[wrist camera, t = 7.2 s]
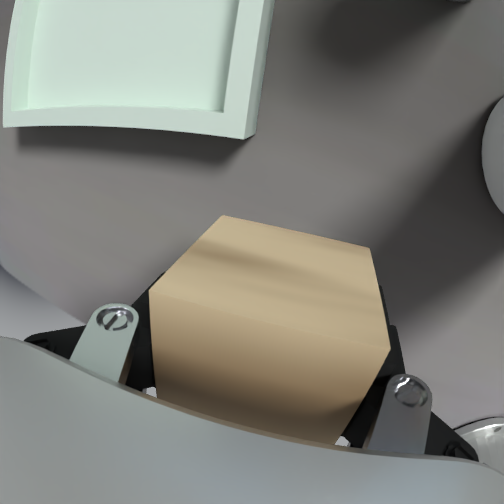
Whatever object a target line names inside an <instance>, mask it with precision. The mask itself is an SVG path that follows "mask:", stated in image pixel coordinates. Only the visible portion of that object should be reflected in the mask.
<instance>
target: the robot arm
mask: <svg viewBox="0 0 504 504" xmlns="http://www.w3.org/2000/svg"><path fill="white" fill-rule="evenodd" d="M165 273H166V272H164V273H162V274H161V275H160V276H159V277H158V278H157V279H156V280H155V281H154V282H153V283H152V285H151V286H150V287H149V288H148V289H147V290H146V291H145V292H144V293H143V294H142V295H141V296H140V297H139V298H138V299H137V300H136V301H135V302H134V303H133V304H132V306H131V307H130V306H128V305H125V304H117V303H113V304H107V305H104V306H102V307H100V308H98V309H97V310H96V311H95V312H94V313H93V314H92V316H91V318H90V320H89V322H88V324H87V325H85V326H80V327H74V328H68V329H62V330H56V331H50V332H44V333H38V334H34V335H31V336H29V337H28V338H26V339H25V340H24V341H21V340H18V339H14V338H8V337H2V336H0V504H504V417H497V418H490V419H485V420H481V421H478V422H475V423H472V424H469V425H466V426H464V427H461V428H459V429H456V430H453V429H451V428H450V427H449V426H448V425H447V424H446V423H444V422H443V421H442V420H441V419H440V418H439V417H437V416H436V415H435V414H434V413H433V412H432V411H431V406H432V393H431V391H430V389H429V387H428V386H427V385H426V384H425V383H424V382H423V381H422V380H421V379H419V378H417V377H415V376H413V375H409V374H406V373H405V368H404V362H403V357H402V352H401V347H400V342H399V337H398V332H397V329H396V326H394V325H390V323H389V318H388V313H387V309H386V304H385V299H384V295H383V291H382V287H381V286H380V285H378V286H379V291H380V296H381V300H382V305H383V310H384V315H385V320H386V326H387V331H388V336H389V342H390V348H391V349H390V351H389V353H388V355H387V357H386V359H385V361H384V363H383V365H382V366H381V368H380V370H379V372H378V374H377V376H376V377H375V379H374V381H373V383H372V385H371V386H370V388H369V390H368V392H367V393H366V395H365V397H364V399H363V400H362V402H361V404H360V405H359V407H358V409H357V410H356V412H355V413H354V415H353V417H352V418H351V420H350V421H349V423H348V425H347V426H346V428H345V429H344V431H343V432H342V434H341V435H340V436H343V437H345V438H346V439H347V440H348V441H349V443H348V445H347V447H346V446H339V445H333V444H327V443H321V442H315V441H310V440H304V439H299V438H294V437H290V436H285V435H280V434H276V433H271V432H267V431H263V430H259V429H255V428H251V427H247V426H243V425H239V424H236V423H232V422H229V421H225V420H222V419H218V418H215V417H212V416H208V415H205V414H202V413H199V412H196V411H193V410H190V409H187V408H184V407H181V406H178V405H175V404H172V403H169V402H167V401H164V400H161V399H158V398H156V397H153V396H150V395H148V394H146V388H149V387H155V388H156V385H155V375H154V364H153V353H152V339H151V324H150V305H149V289H150V288H151V287H152V286H153V285H154V284H155V283H156V282H157V281H158V280H159V279H160V278H161V277H162V276H163V275H164V274H165Z"/></svg>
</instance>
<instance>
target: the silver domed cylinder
mask: <svg viewBox="0 0 504 504" xmlns="http://www.w3.org/2000/svg"><path fill="white" fill-rule="evenodd" d="M448 1H453V2H466V1H470V0H448Z"/></svg>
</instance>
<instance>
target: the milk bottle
mask: <svg viewBox="0 0 504 504" xmlns="http://www.w3.org/2000/svg"><path fill="white" fill-rule="evenodd" d="M481 153H482V167H483V171H484V177H485V181H486V184H487V187H488V190H489V193H490V195H491V197H492V199H493V201H494V202H495V204H496V206H497V207H498V208H499V210H500V211H501V212H502V213H503V214H504V97H503V98H502V99H501V100H500V101H499V102H498V103H497V104H496V106H495V108H494V109H493V111H492V112H491V114H490V116H489V119H488V121H487V123H486V126H485V131H484V135H483V139H482V152H481Z"/></svg>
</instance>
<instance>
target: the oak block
mask: <svg viewBox="0 0 504 504" xmlns="http://www.w3.org/2000/svg"><path fill="white" fill-rule="evenodd" d="M149 305H150V324H151V339H152V353H153V364H154V375H155V385H156V394H157V398H158V399H161V400H164V401H167V402H169V403H172V404H175V405H178V406H181V407H184V408H187V409H190V410H193V411H196V412H199V413H202V414H205V415H208V416H212V417H215V418H218V419H222V420H225V421H229V422H232V423H236V424H239V425H243V426H247V427H251V428H255V429H259V430H263V431H267V432H271V433H276V434H280V435H285V436H290V437H294V438H299V439H304V440H310V441H315V442H321V443H327V444H333V445H334V444H335V443H336V441H337V440H338V438H339V437H340V435H341V434H342V432H343V431H344V429H345V428H346V426H347V425H348V423H349V421H350V420H351V418H352V417H353V415H354V413H355V412H356V410H357V409H358V407H359V405H360V404H361V402H362V400H363V399H364V397H365V395H366V393H367V392H368V390H369V388H370V386H371V385H372V383H373V381H374V379H375V377H376V376H377V374H378V372H379V370H380V368H381V366H382V365H383V363H384V361H385V359H386V357H387V355H388V353H389V351H390V349H391V348H390V342H389V336H388V331H387V326H386V320H385V315H384V310H383V305H382V300H381V296H380V291H379V286H378V282H377V278H376V273H375V269H374V265H373V261H372V257H371V253H370V249H369V248H367V247H363V246H359V245H355V244H350V243H346V242H342V241H338V240H333V239H329V238H325V237H320V236H316V235H311V234H307V233H303V232H298V231H294V230H289V229H285V228H280V227H276V226H271V225H266V224H262V223H257V222H253V221H248V220H243V219H238V218H234V217H229V216H224V215H222V216H221V217H220V218H219V219H218V220H217V221H216V222H215V223H214V224H213V225H212V226H211V227H210V228H209V229H208V230H207V231H206V232H205V233H204V234H203V235H202V236H201V237H200V238H199V239H198V240H197V241H196V242H195V243H194V244H193V245H192V246H191V247H190V248H189V249H188V250H187V251H186V252H185V253H184V254H183V255H182V256H181V257H180V258H179V259H178V260H177V261H176V262H175V263H174V264H173V265H172V266H171V267H170V268H169V269H168V271H167V272H166V273H165V274H164V275H163V276H162V277H161V278H160V279H159V280H158V281H157V282H156V283H155V284H154V285H153V286H152V287H151V288H150V289H149Z"/></svg>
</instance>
